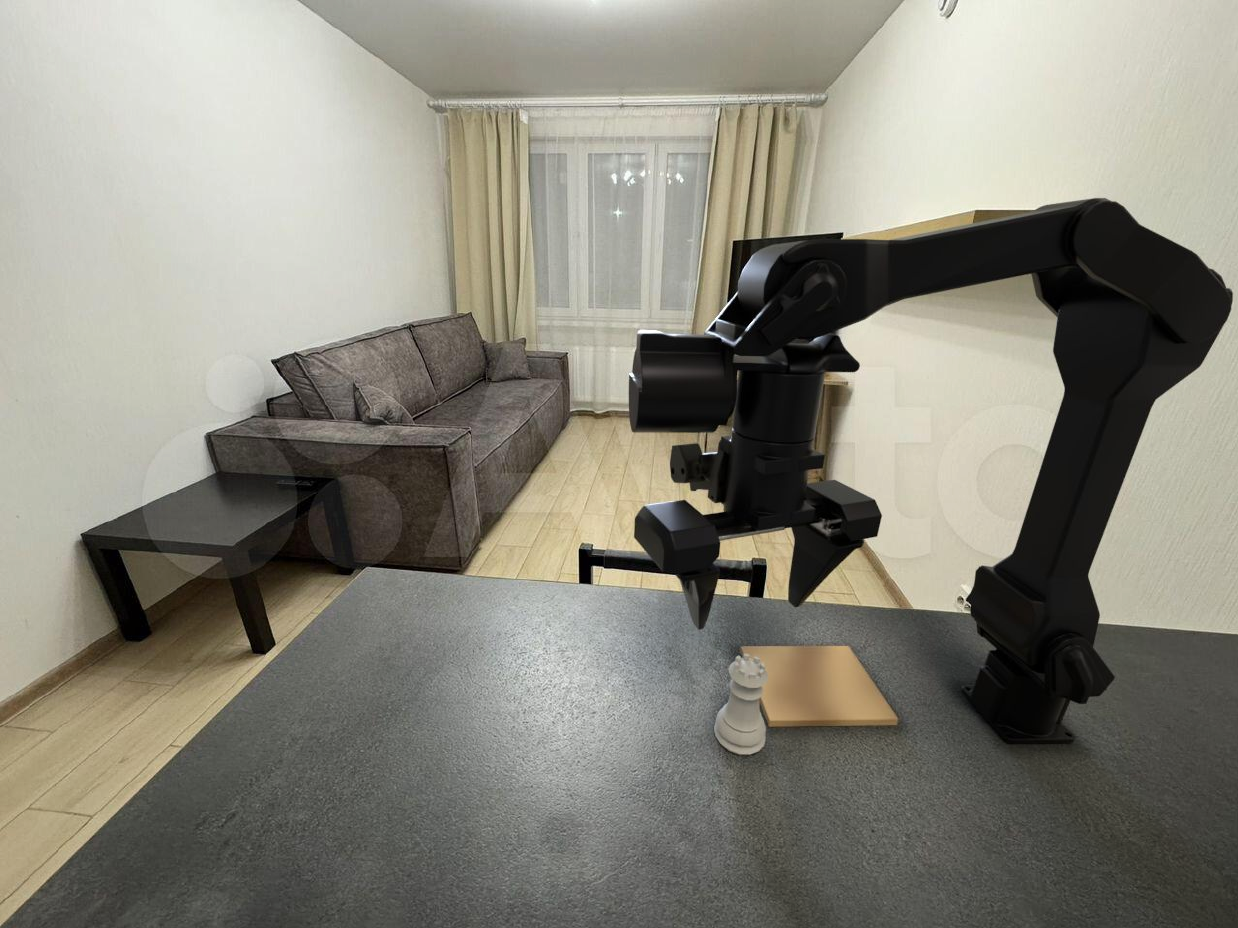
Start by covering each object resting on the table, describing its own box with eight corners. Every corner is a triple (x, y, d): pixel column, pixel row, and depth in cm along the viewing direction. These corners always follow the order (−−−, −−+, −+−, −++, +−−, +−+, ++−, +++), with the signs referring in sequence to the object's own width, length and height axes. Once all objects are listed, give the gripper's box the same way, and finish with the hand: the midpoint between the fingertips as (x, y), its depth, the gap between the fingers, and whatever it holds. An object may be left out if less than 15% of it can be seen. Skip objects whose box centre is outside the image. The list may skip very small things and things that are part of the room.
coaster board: (847, 651, 57) (848, 645, 57) (897, 725, 48) (898, 718, 48) (739, 651, 57) (740, 645, 56) (768, 727, 47) (769, 720, 47)
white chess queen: (766, 763, 44) (779, 688, 41) (712, 752, 45) (721, 678, 42) (763, 721, 48) (775, 650, 45) (714, 712, 49) (722, 642, 46)
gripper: (803, 399, 48) (780, 550, 53) (611, 412, 41) (607, 582, 46) (906, 434, 38) (864, 614, 43) (675, 457, 31) (660, 666, 37)
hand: (747, 614), depth 43 cm, fingers open, 9 cm apart
